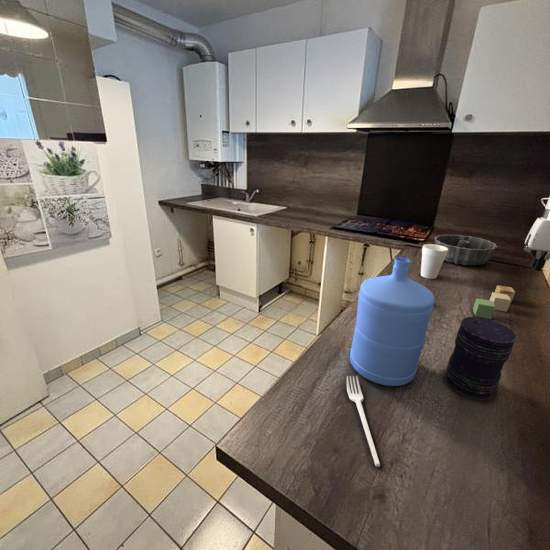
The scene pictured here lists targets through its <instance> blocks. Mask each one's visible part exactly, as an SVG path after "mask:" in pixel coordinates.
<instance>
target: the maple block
mask: <svg viewBox="0 0 550 550" xmlns="http://www.w3.org/2000/svg"><path fill="white" fill-rule="evenodd" d="M494 293H500V294H506V295H508V296H509V297H510V299H511V302H510V304H512V302H513V299H514V297H515V294H516V291H515V290H514V289H513V287H511V286H506V285H505V286H504V285H496V287H495V290H494Z"/></svg>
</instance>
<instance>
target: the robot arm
mask: <svg viewBox="0 0 550 550" xmlns="http://www.w3.org/2000/svg"><path fill="white" fill-rule="evenodd" d="M522 250H523V251H524V252H527V253H529V254H531V255H532V257H533V259H532V261H531V264H530V267H531V269H532V270H533V271H536V272H541V270H542V269H544V267H545V264H546V263H547V261H549V260H550V196H549V197H548V199H547V202H546V205H545V207H544V210H543V212H542V215H541V217H537V218H536V220H535V221H534V223H533V225H532V226H531V228H530V230H529V232H528V234H527V236H526V238H525V240H524V246H523V248H522ZM542 251H543V253H542Z"/></svg>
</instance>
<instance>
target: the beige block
mask: <svg viewBox="0 0 550 550" xmlns="http://www.w3.org/2000/svg"><path fill="white" fill-rule="evenodd" d="M489 300H490V301H493V303H494V305H495V310H494V311H500V312H505V313H507V312H508V310H509V308H510V305H511V303H510V302H511V299H510V297H509V296H508V295H506V294H500V293H495V291H494V292H491V296H490V297H489Z"/></svg>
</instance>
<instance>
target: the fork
mask: <svg viewBox="0 0 550 550" xmlns="http://www.w3.org/2000/svg"><path fill="white" fill-rule="evenodd" d="M355 377H356V378H355ZM355 379H356V380H355ZM346 391H347V395H348V398H349V400H350V401H352V402H354V403H355V404H356V408H357V411H358V414H359V418H360V420H361V424H362V427H363V430H364V434H365V437H366V439H367V440H366V441H367V444H368V446H369V449H370V453H371V456H372V460H373V462H374V465H375V467H376V468H380V467H381V463H380V460H379V457H378V453H377V449H376V447H375V443H374V440H373V437H372V434H371V431H370V427H369V424H368V420H367V418H366V414H365V410H364V407H363V404H362V403H363V402H364V395H363V392H362V389H361V385H360V381H359V377H358V375H356V376H355V375H353V376H351V375H349V376H348V375H346Z"/></svg>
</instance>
